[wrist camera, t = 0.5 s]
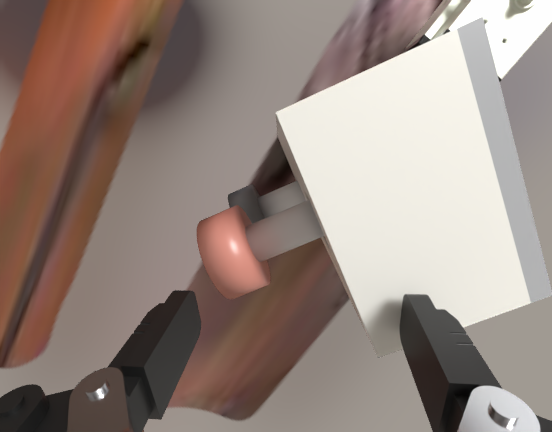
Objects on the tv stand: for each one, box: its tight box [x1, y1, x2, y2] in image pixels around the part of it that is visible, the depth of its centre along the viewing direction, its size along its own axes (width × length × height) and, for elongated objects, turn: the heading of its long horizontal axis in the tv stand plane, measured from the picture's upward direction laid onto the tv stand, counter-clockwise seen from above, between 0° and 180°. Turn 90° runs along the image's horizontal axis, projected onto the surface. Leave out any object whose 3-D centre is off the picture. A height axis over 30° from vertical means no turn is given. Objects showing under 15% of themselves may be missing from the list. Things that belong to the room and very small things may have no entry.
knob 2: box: [197, 200, 324, 299], centre depth 15 cm, size 4×8×4 cm, turn 114°
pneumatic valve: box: [402, 0, 552, 82], centre depth 22 cm, size 6×12×12 cm, turn 142°
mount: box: [276, 17, 552, 358], centre depth 20 cm, size 10×7×20 cm
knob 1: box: [228, 180, 306, 224], centre depth 24 cm, size 4×8×4 cm, turn 114°
